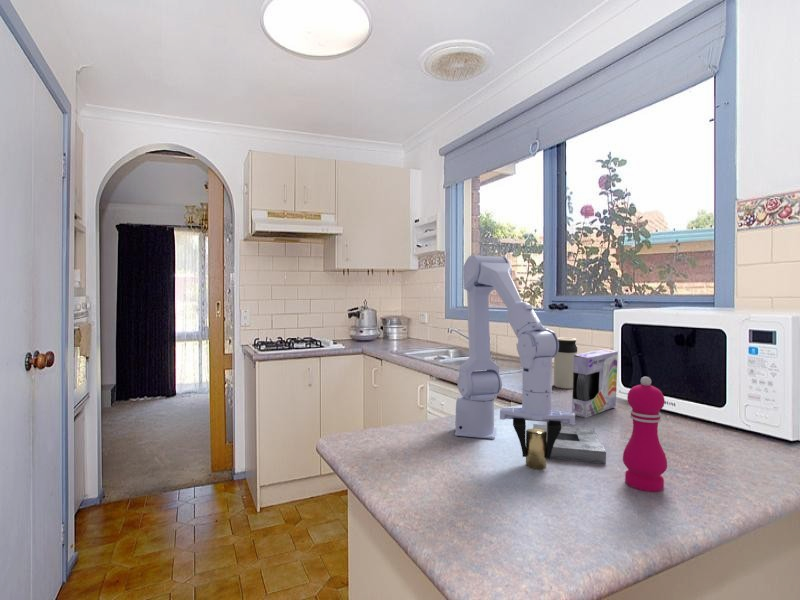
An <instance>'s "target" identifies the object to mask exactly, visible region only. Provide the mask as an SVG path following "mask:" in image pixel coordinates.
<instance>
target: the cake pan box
mask: <svg viewBox="0 0 800 600" xmlns="http://www.w3.org/2000/svg"><path fill="white" fill-rule="evenodd" d="M618 353H619V351H617V350H611V349H607V348H604V349H599V350H591V351H587V352H583V353H579V354H578V353H577V354H576V355H574V361H573V389H572V398H571V399H572V401H571V402H572V403H571V407H572V408H571V410H572V412H571V413H574V414H575V417H576V416H577V417H580V418H585V419H586V418H590V417H593V416H595V415H597V414H600V413H602V412H605V411H607V410H611V409H613V408H615V407H617V383H618V382H617V379H618V360H619V354H618Z"/></svg>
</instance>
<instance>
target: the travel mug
mask: <svg viewBox="0 0 800 600" xmlns="http://www.w3.org/2000/svg"><path fill="white" fill-rule="evenodd" d="M557 338H558V342H559V350H558V353H557V355H556V356H555V357H554V359H553V386H554V387H555V388H559V389H562V388H563V390H564V389H566V390H573V361H574V355H576V354H578V346H577V344H576V342H577V338H575V337H574V338H573V337H562V336H561V337H557Z"/></svg>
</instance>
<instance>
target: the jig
mask: <svg viewBox="0 0 800 600" xmlns="http://www.w3.org/2000/svg"><path fill="white" fill-rule="evenodd" d="M532 425H533V427H532V429H541V430H544V431H546V432H547V424H534V423H533V424H532ZM551 458H553V459H554V460H562V461H563V460H564V461H575V462H584V463H595V464H604V465H605V464H607V451H606V449H605V447H604V445H603V443H602V441H601V440H600V437H599V436H598V434H597V432H596V430H595V428H589V427H588V428H587V427H575V426H562V425H561V431H560V433H559V434H558V436H557V438H556V440H555V443H554V445H553V448H552V452H551V456H550V459H551Z"/></svg>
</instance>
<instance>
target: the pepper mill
mask: <svg viewBox="0 0 800 600" xmlns="http://www.w3.org/2000/svg"><path fill="white" fill-rule="evenodd" d="M627 402H628V404H629V406H630V407H631V409H630V410H629V412H630V415H629V418H630V419H632V433H631V435H630V438H629V439H628V442H627V443H626V446H625V447H624V450H623V454H622V462H623V464H624V465H625V467H626V468H627V470H626V471H625V472H624V473H625V475H624V477H625V478H624V480H625V483H626V484H627V485H628V486H630V487H632V488H634V489H636V490H639V491H644V492H660V491H662V490H663V489H664V486H665V478H664V477H663V476H662V474H664V473H666V470H667V468H668V460H667V456H666V453H665V450H664V449H663V447H662V445H661V442H660V440H659V434H658V427H659V423H660V422H661V421H662V418H661V416H662V414H661V412H660V411H661V410H662V409H663V408H664V406H665V396H664V394H663V392H662V390H661V389H660V388H657V387H656V386H654V385H652V379H651V377H650V376H643V377H641V378H640V384H637V385H636V384H635V386H632V387H631V388H630V389H629V390H628V393H627Z"/></svg>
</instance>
